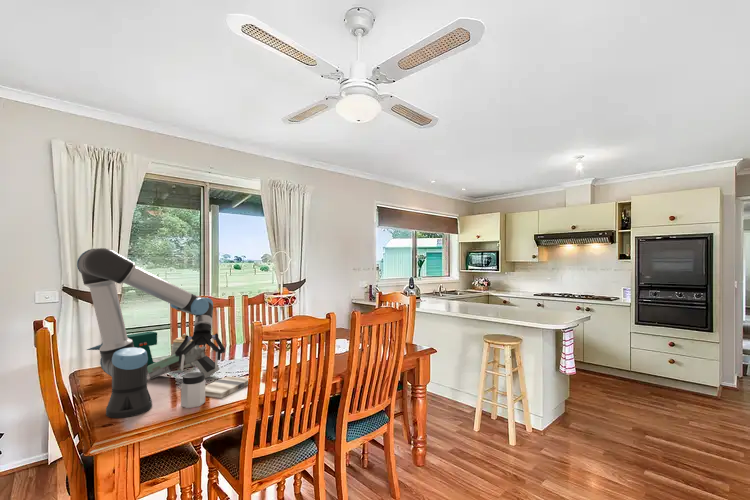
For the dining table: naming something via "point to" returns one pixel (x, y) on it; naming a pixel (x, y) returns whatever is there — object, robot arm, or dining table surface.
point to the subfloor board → (225, 386)
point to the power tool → (140, 343)
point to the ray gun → (193, 356)
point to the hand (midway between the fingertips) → (199, 368)
